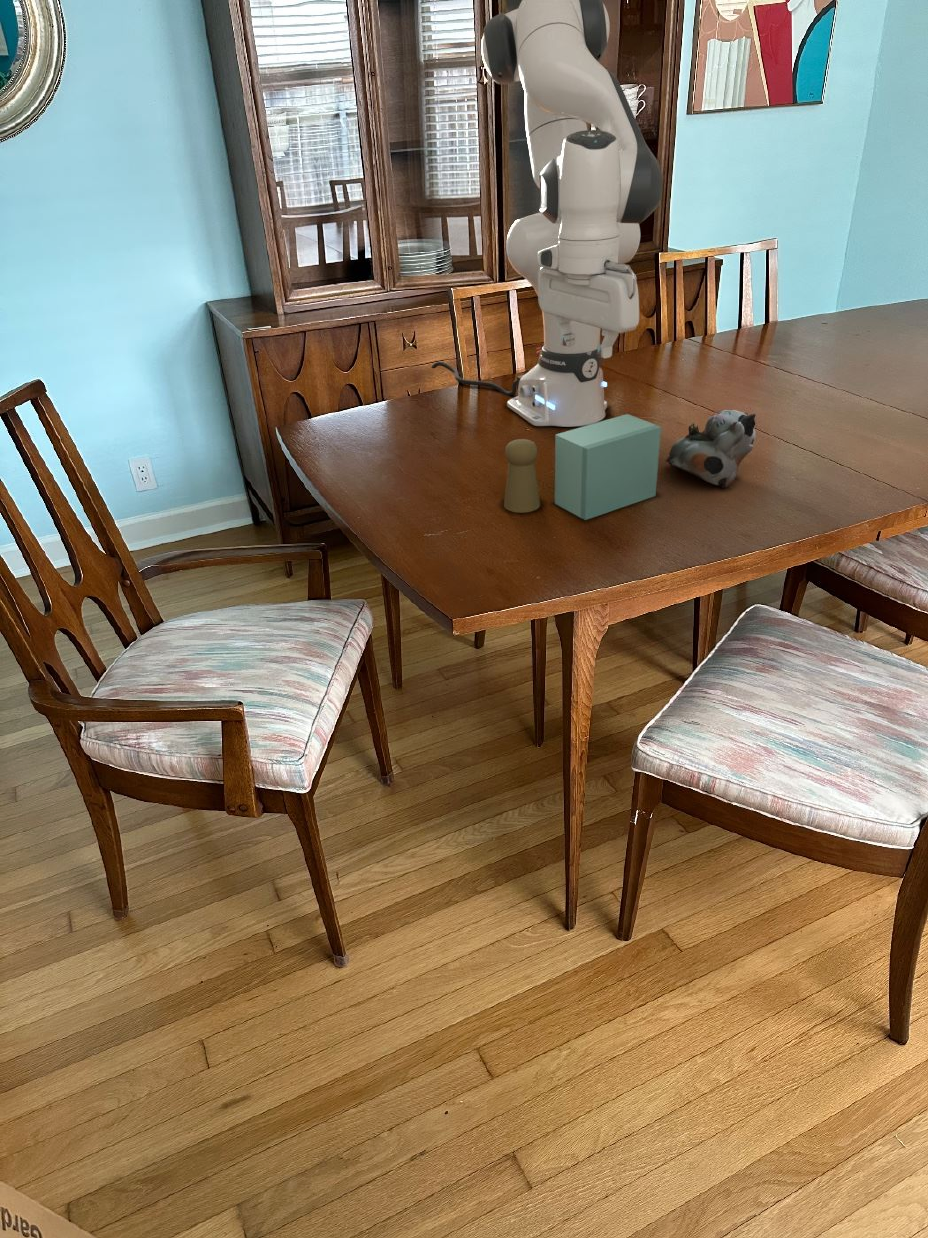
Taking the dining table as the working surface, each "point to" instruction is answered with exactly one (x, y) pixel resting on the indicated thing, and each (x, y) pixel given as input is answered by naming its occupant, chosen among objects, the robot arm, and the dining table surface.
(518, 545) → the dining table surface
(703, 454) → the lucky cat figurine
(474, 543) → the dining table surface
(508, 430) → the dining table surface
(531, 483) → the cork
